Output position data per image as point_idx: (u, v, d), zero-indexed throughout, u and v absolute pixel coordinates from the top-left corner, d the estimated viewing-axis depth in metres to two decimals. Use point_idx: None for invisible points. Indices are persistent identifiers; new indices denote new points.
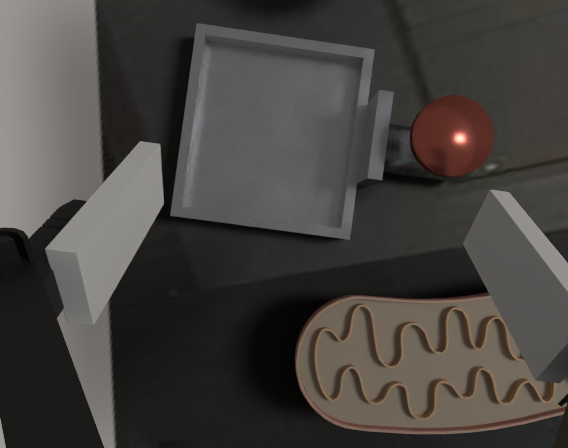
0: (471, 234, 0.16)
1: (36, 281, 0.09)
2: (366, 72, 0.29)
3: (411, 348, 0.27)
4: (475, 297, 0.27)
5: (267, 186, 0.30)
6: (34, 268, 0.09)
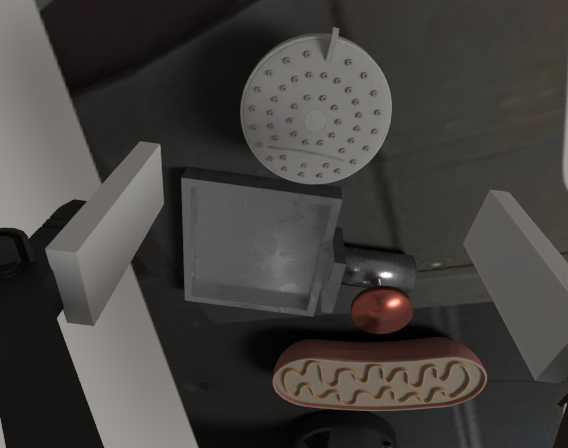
0: (471, 234, 0.16)
1: (36, 281, 0.09)
2: (333, 216, 0.33)
3: (345, 377, 0.43)
4: (390, 361, 0.40)
5: (254, 277, 0.40)
6: (34, 268, 0.09)
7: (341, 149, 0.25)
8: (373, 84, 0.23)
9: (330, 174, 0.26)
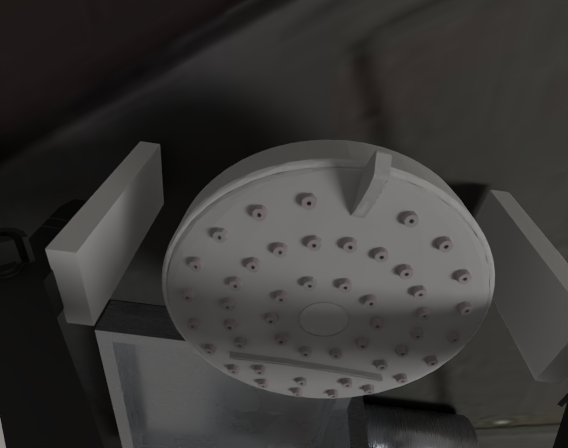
0: None
1: (36, 281, 0.09)
2: None
3: None
4: None
5: (227, 435, 0.27)
6: (34, 268, 0.09)
7: (378, 362, 0.12)
8: (461, 259, 0.10)
9: (353, 391, 0.13)
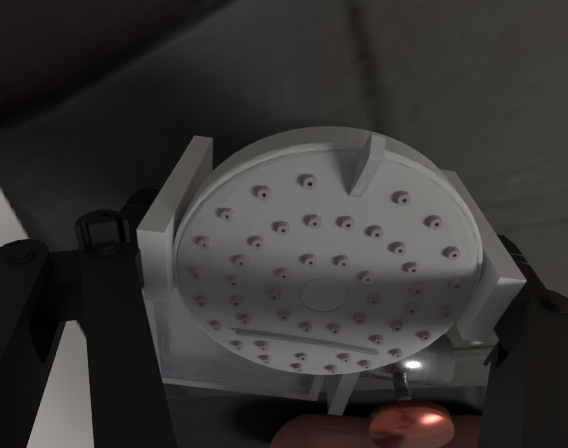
0: None
1: (129, 261, 0.10)
2: None
3: None
4: None
5: None
6: (129, 249, 0.10)
7: (374, 337, 0.13)
8: (451, 236, 0.10)
9: (351, 366, 0.14)
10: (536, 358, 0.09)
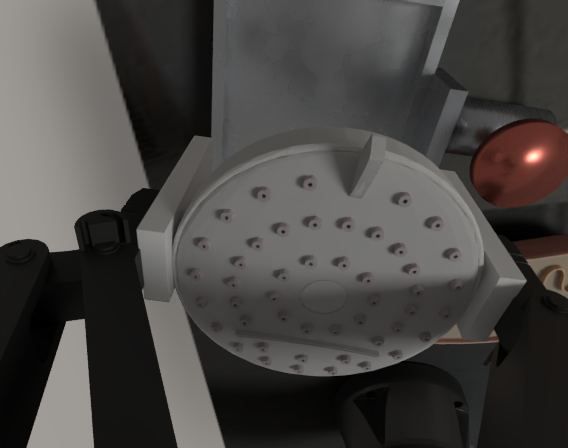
0: None
1: (129, 261, 0.10)
2: (442, 28, 0.22)
3: None
4: None
5: None
6: (129, 249, 0.10)
7: (375, 339, 0.13)
8: (452, 238, 0.10)
9: (351, 368, 0.14)
10: (536, 358, 0.09)
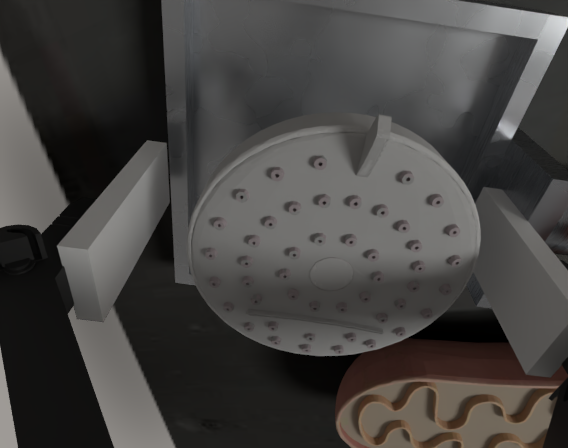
0: None
1: (48, 278, 0.09)
2: (532, 73, 0.14)
3: (479, 412, 0.22)
4: None
5: None
6: (46, 265, 0.09)
7: (379, 316, 0.13)
8: (451, 215, 0.11)
9: (356, 346, 0.15)
10: None
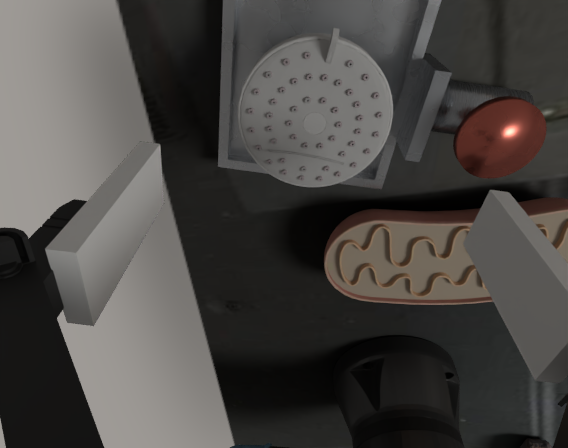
0: (471, 234, 0.16)
1: (36, 281, 0.09)
2: (429, 16, 0.25)
3: (420, 253, 0.33)
4: None
5: None
6: (34, 268, 0.09)
7: (341, 152, 0.24)
8: (374, 86, 0.22)
9: (330, 177, 0.26)
10: None
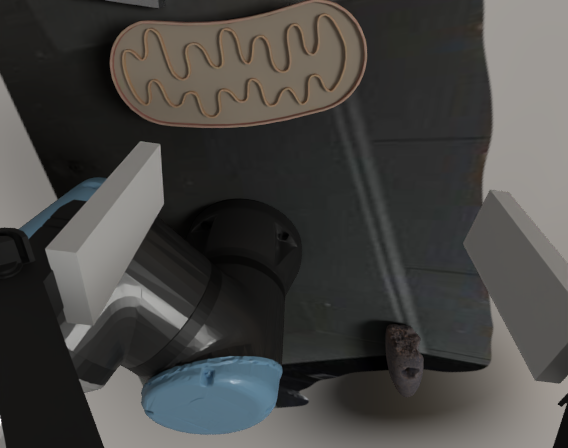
0: (471, 234, 0.16)
1: (36, 281, 0.09)
2: None
3: (198, 64, 0.35)
4: (241, 18, 0.32)
5: None
6: (34, 268, 0.09)
7: None
8: None
9: None
10: None
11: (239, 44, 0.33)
